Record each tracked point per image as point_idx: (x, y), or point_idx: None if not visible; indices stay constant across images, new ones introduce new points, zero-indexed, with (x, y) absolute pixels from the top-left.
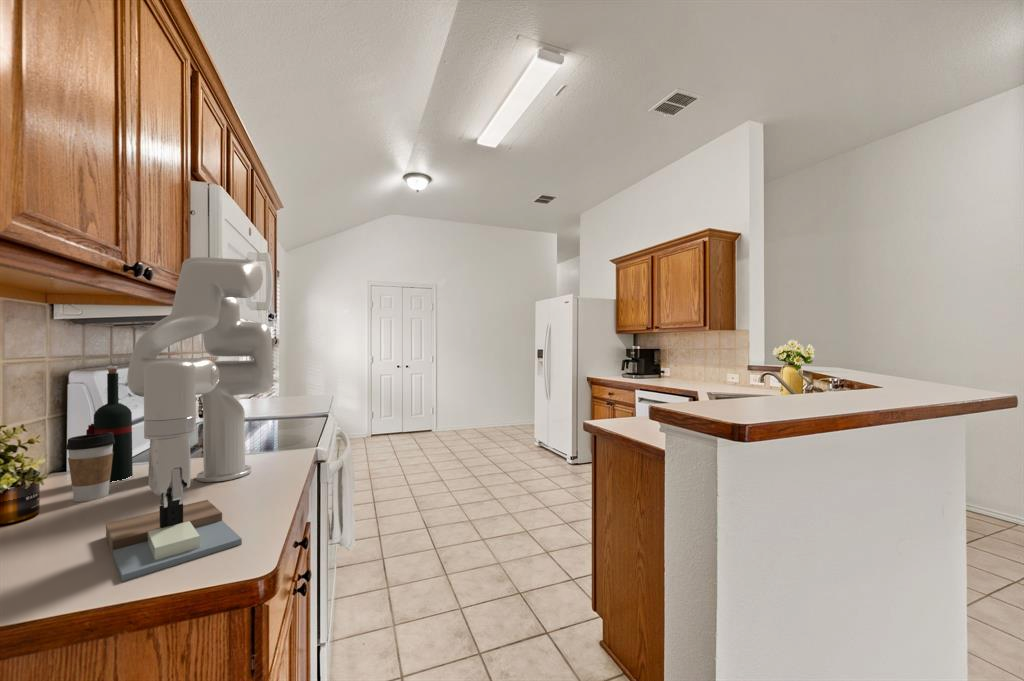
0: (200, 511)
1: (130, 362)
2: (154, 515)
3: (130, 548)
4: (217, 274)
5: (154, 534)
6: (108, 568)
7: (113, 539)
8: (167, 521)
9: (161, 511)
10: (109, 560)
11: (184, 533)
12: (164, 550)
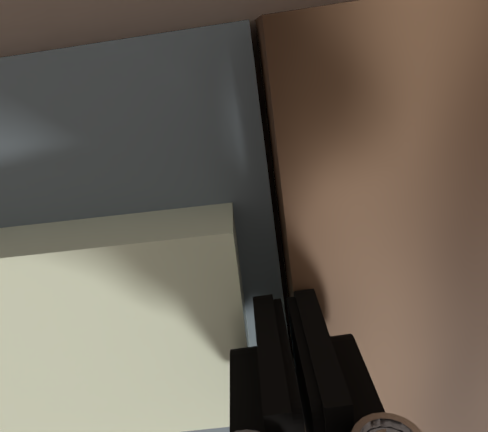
0: None
1: None
2: None
3: (201, 118)
4: None
5: (137, 268)
6: (47, 9)
7: (299, 18)
8: (238, 357)
9: (263, 391)
10: (186, 6)
11: (34, 401)
12: None
